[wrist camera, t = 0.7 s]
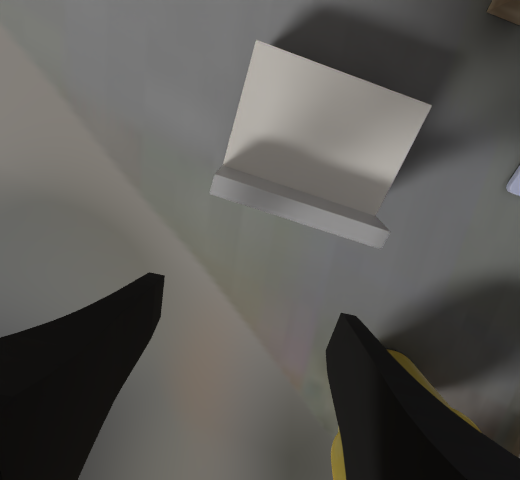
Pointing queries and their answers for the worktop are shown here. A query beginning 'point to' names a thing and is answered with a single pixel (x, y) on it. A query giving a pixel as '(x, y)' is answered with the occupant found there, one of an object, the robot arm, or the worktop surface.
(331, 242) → the worktop surface
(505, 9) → the wooden u-shaped frame
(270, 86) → the grey l-shaped bracket
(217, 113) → the worktop surface
